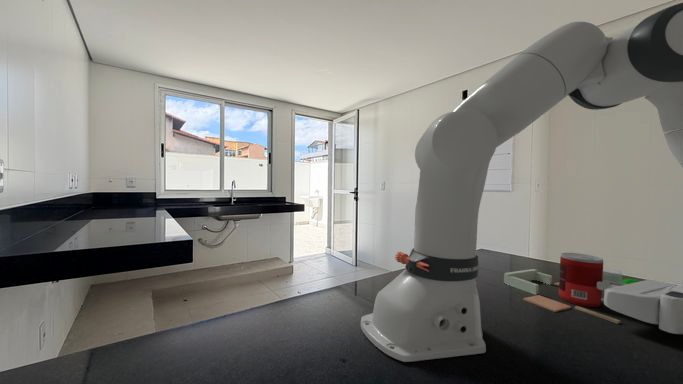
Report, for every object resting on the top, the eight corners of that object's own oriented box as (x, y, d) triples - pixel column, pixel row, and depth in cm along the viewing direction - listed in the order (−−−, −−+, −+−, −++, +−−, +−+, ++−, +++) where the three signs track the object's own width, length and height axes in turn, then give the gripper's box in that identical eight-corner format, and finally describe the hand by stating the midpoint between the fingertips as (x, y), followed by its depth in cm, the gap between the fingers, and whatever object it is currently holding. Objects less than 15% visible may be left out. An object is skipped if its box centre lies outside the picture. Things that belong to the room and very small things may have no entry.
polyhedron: (645, 298, 71) (646, 280, 71) (646, 304, 68) (647, 284, 68) (618, 293, 75) (619, 275, 75) (617, 297, 72) (618, 279, 72)
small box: (593, 282, 84) (594, 265, 84) (620, 287, 80) (621, 270, 80) (593, 286, 80) (594, 269, 80) (622, 292, 76) (623, 274, 76)
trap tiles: (554, 312, 62) (555, 310, 62) (506, 293, 72) (506, 291, 72) (615, 296, 72) (615, 295, 72) (565, 282, 82) (566, 281, 82)
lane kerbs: (617, 323, 57) (617, 321, 57) (550, 300, 68) (550, 298, 68) (647, 314, 62) (647, 311, 62) (580, 293, 74) (580, 291, 74)
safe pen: (535, 294, 72) (536, 283, 71) (503, 283, 79) (504, 273, 79) (565, 288, 77) (566, 278, 77) (532, 278, 85) (533, 268, 85)
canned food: (610, 308, 65) (613, 260, 64) (576, 307, 65) (578, 259, 64) (581, 295, 72) (583, 252, 72) (550, 294, 72) (553, 251, 72)
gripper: (714, 286, 56) (623, 266, 69) (670, 299, 48) (575, 274, 61) (712, 317, 56) (622, 292, 69) (667, 335, 48) (574, 303, 61)
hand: (600, 284), depth 65 cm, fingers closed, pressing on canned food
